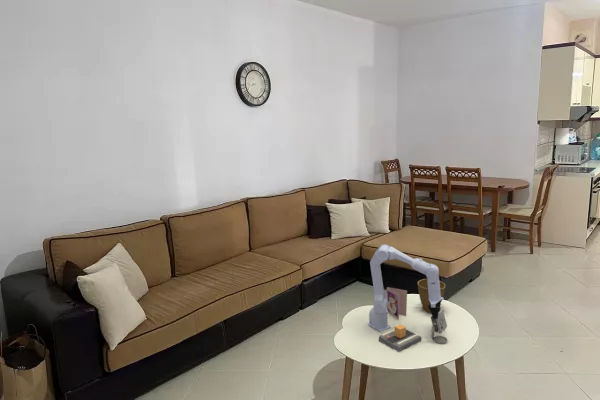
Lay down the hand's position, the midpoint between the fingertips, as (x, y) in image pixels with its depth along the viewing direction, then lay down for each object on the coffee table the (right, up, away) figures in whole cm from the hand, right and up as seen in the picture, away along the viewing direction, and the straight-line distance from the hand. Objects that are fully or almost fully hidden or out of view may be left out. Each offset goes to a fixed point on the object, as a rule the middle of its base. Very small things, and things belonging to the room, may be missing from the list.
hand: (436, 315), depth 215 cm
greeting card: (-14, -7, +24) cm, 29 cm away
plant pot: (+6, -5, +29) cm, 30 cm away
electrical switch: (+4, -10, +8) cm, 13 cm away
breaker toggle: (-19, -9, -4) cm, 21 cm away
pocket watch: (0, -12, -3) cm, 12 cm away
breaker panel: (-19, -12, -3) cm, 23 cm away
